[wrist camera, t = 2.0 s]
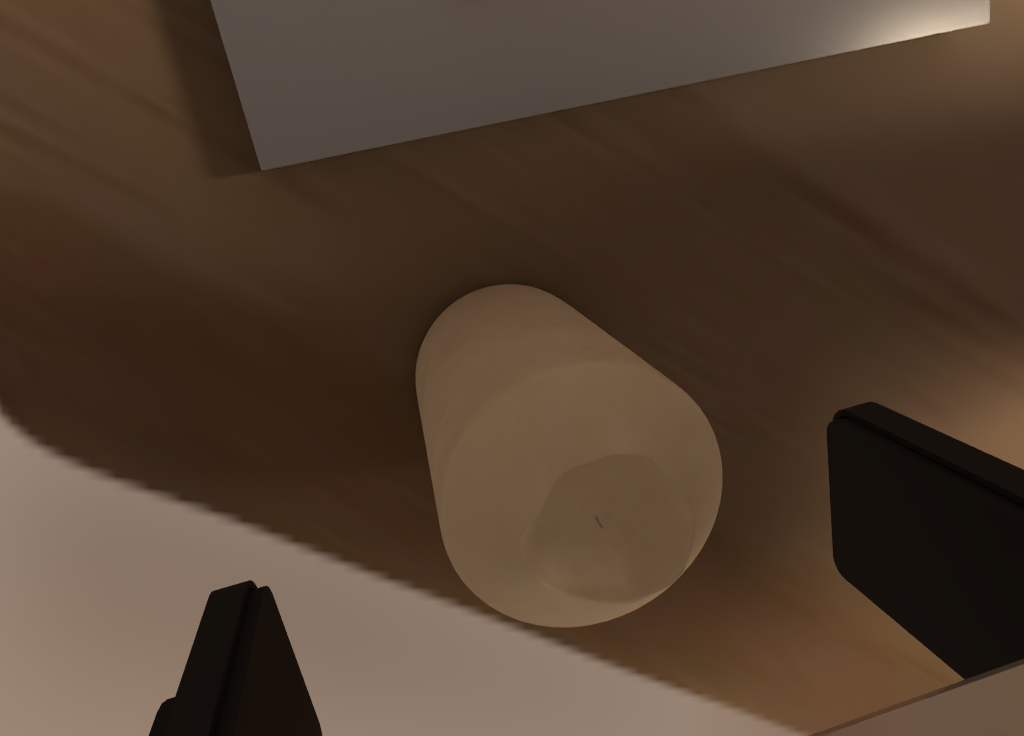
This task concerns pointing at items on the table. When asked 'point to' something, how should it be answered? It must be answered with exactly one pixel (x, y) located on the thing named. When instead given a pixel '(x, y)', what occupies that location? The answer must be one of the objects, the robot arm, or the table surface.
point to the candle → (560, 460)
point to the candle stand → (517, 58)
